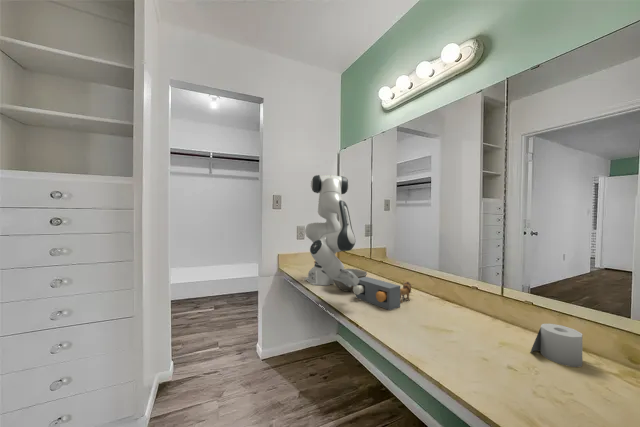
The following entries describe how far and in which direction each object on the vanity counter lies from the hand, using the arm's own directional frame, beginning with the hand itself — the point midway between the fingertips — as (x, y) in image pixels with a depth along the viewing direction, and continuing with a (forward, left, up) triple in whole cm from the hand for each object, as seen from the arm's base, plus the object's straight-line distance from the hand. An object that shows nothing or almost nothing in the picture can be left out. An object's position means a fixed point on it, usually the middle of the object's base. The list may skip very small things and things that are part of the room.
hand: (349, 285), depth 125 cm
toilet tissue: (+72, +19, -9) cm, 76 cm away
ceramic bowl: (-18, +15, -9) cm, 25 cm away
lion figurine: (+13, +25, -9) cm, 29 cm away
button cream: (0, +7, -5) cm, 9 cm away
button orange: (+14, +9, -5) cm, 17 cm away
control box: (+7, +12, -9) cm, 17 cm away
